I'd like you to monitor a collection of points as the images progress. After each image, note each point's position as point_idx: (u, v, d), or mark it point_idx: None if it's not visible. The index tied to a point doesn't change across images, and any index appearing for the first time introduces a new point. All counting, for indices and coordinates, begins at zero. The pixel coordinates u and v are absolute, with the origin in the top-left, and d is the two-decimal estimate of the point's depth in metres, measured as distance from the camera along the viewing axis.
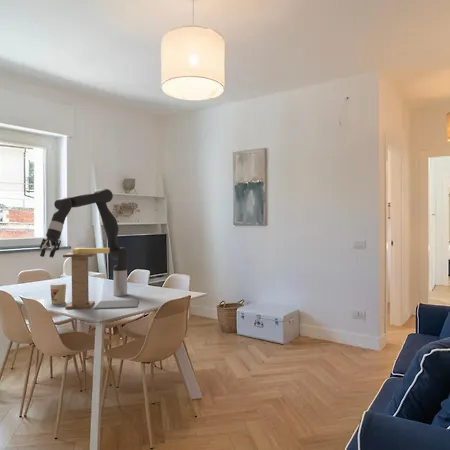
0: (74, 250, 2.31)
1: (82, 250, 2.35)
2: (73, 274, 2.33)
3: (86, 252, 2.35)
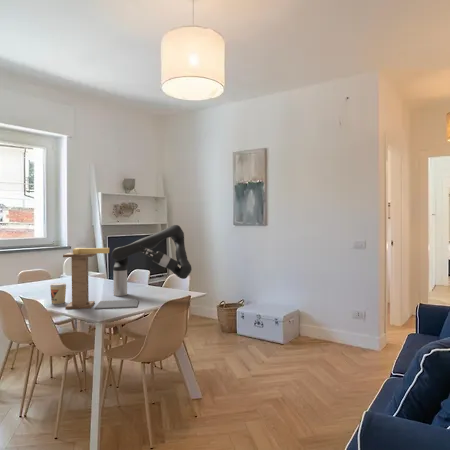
0: (74, 250, 2.31)
1: (82, 250, 2.35)
2: (73, 274, 2.33)
3: (86, 252, 2.35)
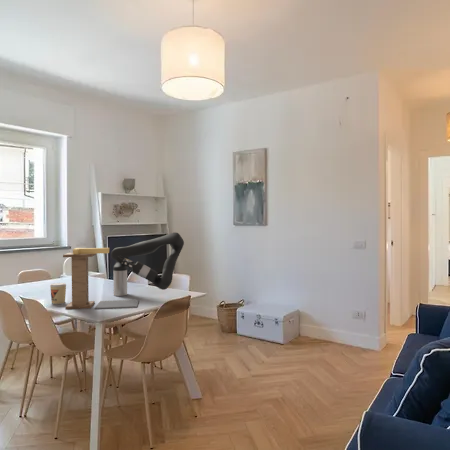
0: (74, 250, 2.31)
1: (82, 250, 2.35)
2: (73, 274, 2.33)
3: (86, 252, 2.35)
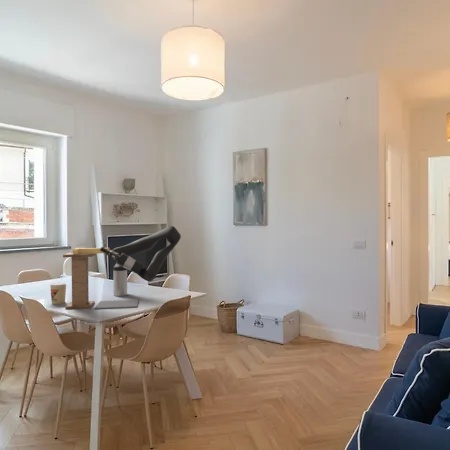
0: (74, 250, 2.32)
1: (82, 250, 2.35)
2: (73, 274, 2.33)
3: (86, 252, 2.35)
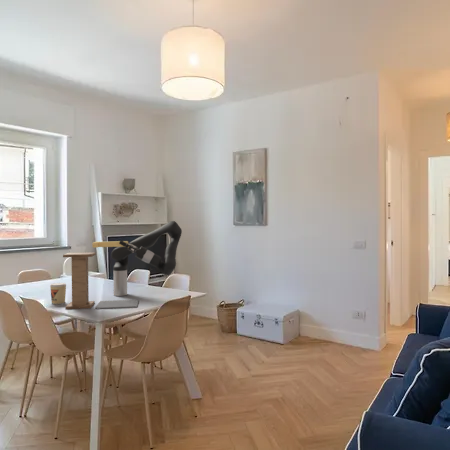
0: (94, 243, 2.33)
1: (101, 243, 2.37)
2: (73, 274, 2.33)
3: (105, 245, 2.37)
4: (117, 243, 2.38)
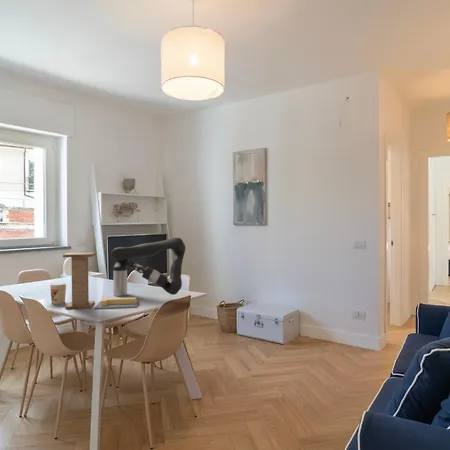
0: (102, 301, 2.34)
1: (110, 301, 2.38)
2: (73, 274, 2.33)
3: (114, 303, 2.38)
4: (125, 300, 2.39)
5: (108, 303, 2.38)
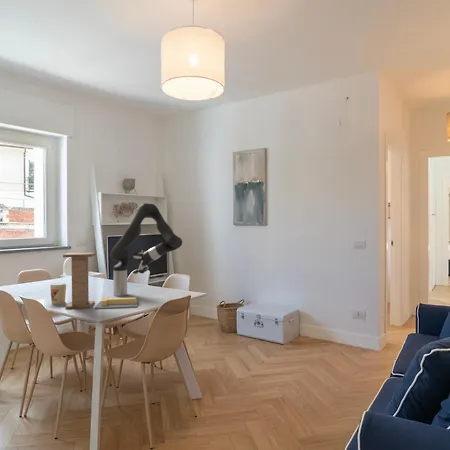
0: (102, 301, 2.34)
1: (110, 301, 2.38)
2: (73, 274, 2.33)
3: (114, 303, 2.38)
4: (125, 300, 2.39)
5: (108, 303, 2.38)
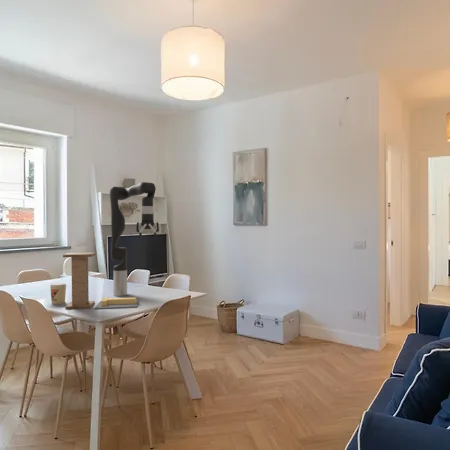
0: (102, 301, 2.34)
1: (110, 301, 2.38)
2: (73, 274, 2.33)
3: (114, 303, 2.38)
4: (125, 300, 2.39)
5: (108, 303, 2.38)
